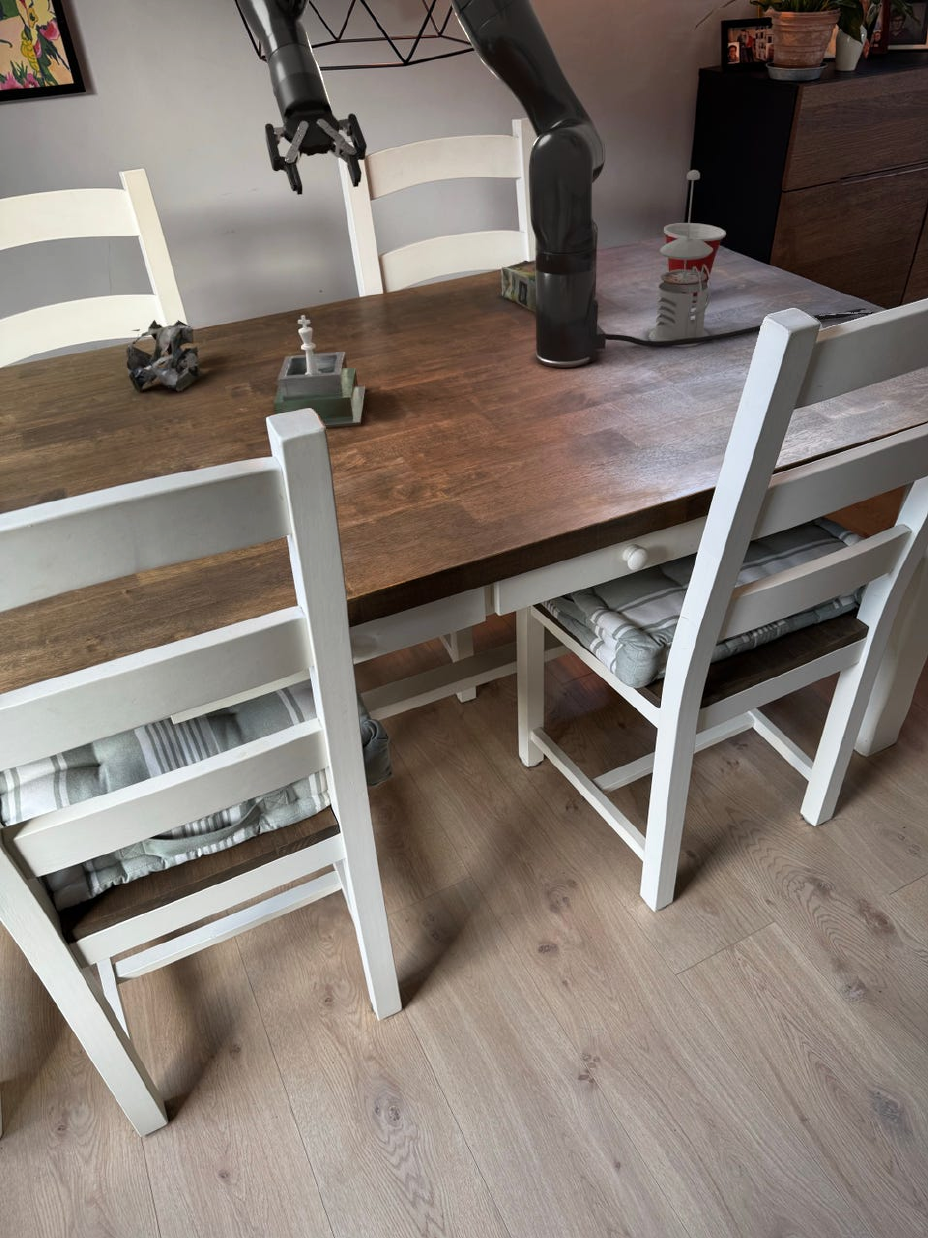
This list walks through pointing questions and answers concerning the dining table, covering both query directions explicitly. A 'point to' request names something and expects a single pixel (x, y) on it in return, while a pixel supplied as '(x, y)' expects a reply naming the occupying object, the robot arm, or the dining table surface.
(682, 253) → the french press
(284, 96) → the robot arm
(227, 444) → the dining table surface
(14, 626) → the dining table surface
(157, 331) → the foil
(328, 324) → the dining table surface
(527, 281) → the juice carton
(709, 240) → the plastic cup
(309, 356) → the chess piece
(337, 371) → the stand
